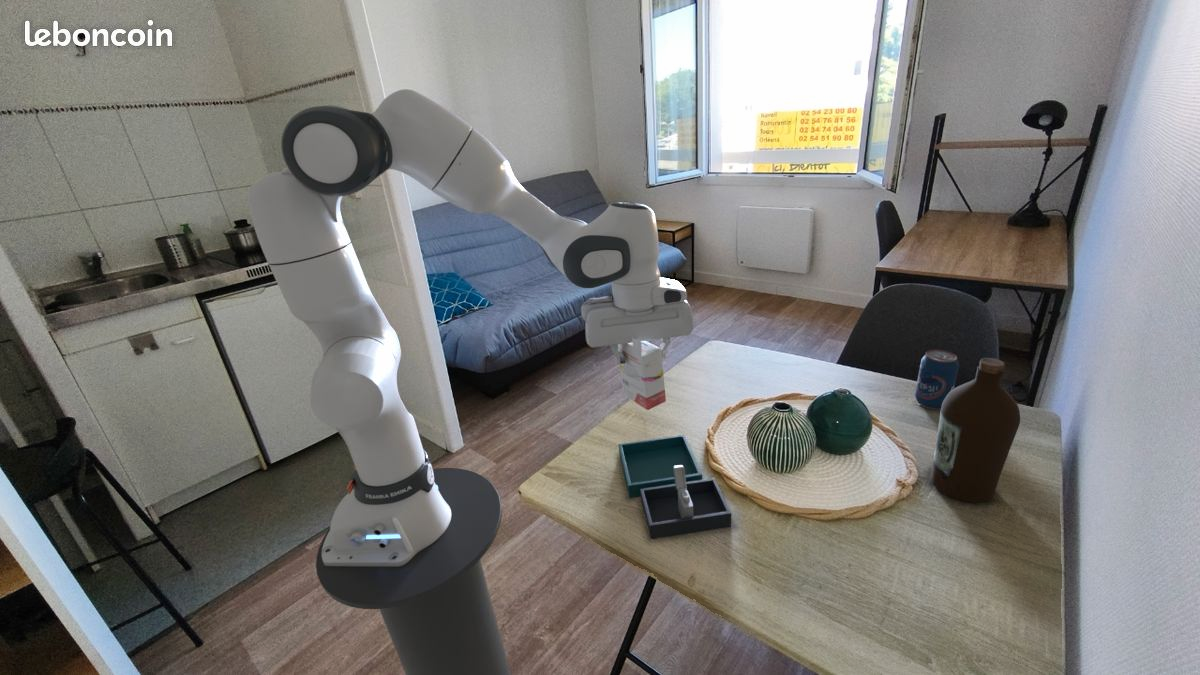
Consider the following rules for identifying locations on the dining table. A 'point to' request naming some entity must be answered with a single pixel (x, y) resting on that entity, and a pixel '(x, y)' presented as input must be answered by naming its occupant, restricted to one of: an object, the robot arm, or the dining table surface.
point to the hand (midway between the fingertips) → (641, 360)
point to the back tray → (656, 463)
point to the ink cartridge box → (642, 373)
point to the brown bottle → (975, 435)
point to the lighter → (682, 493)
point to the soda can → (936, 378)
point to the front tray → (665, 513)
